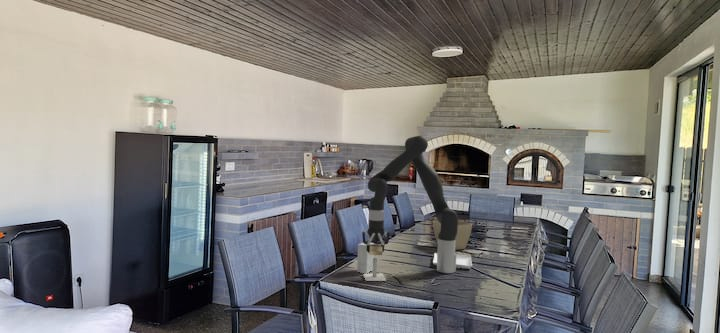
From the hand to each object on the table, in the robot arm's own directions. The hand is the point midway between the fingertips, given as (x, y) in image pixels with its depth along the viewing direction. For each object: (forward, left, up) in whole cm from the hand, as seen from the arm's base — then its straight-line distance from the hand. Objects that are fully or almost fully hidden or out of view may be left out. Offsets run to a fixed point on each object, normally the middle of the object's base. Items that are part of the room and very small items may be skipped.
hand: (375, 252), depth 214 cm
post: (0, 0, -13) cm, 13 cm away
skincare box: (+3, -12, -13) cm, 18 cm away
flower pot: (-60, -63, -13) cm, 88 cm away
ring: (0, 0, -1) cm, 1 cm away
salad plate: (-48, -25, -14) cm, 56 cm away
